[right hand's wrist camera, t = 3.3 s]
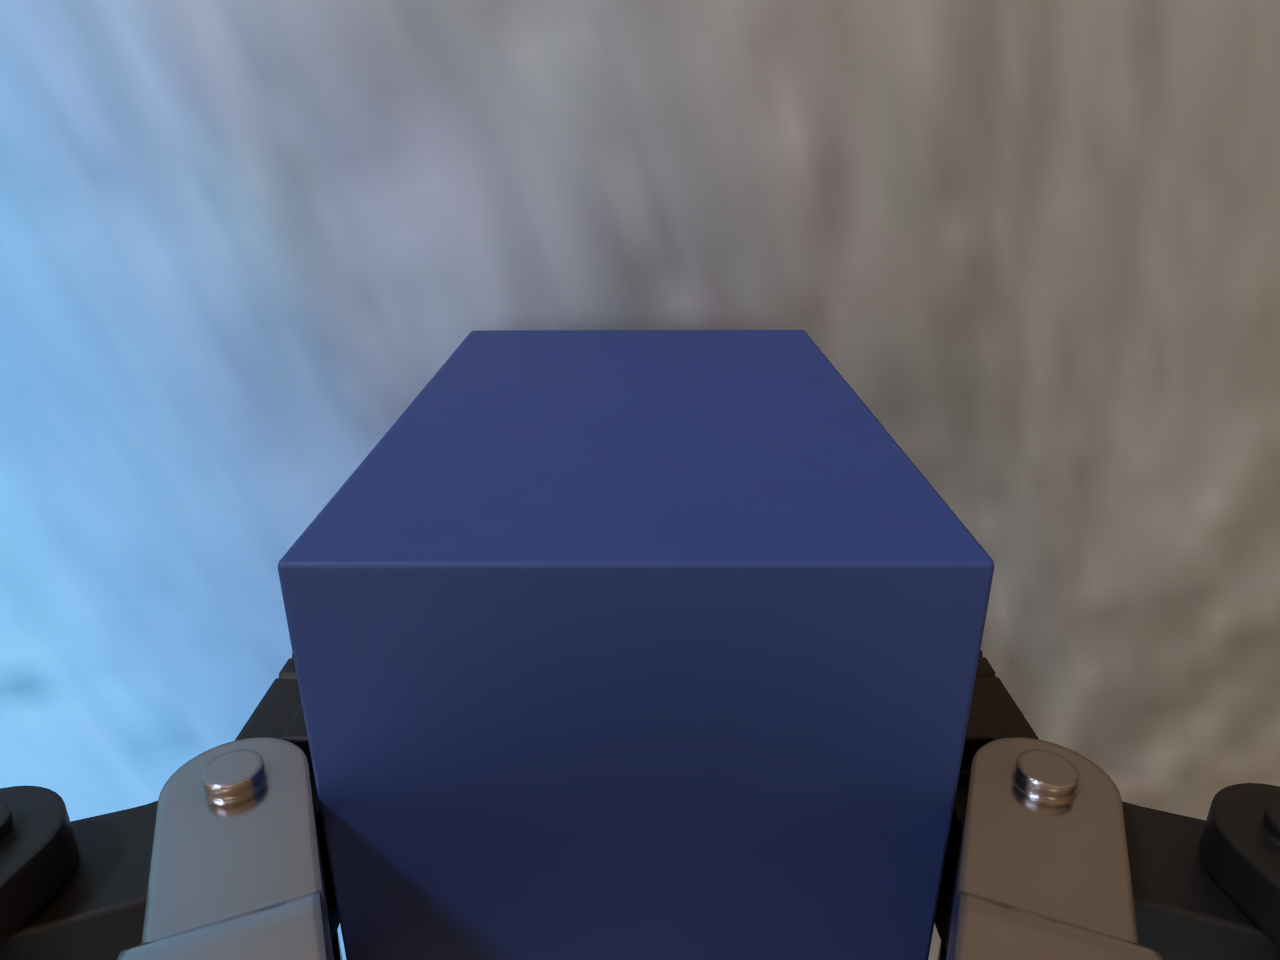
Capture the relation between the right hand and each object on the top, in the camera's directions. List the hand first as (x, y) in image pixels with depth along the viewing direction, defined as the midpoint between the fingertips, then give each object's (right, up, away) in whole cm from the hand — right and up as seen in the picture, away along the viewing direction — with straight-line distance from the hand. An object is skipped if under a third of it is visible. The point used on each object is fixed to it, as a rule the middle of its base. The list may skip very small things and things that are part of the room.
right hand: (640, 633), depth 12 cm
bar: (0, -8, +7) cm, 11 cm away
